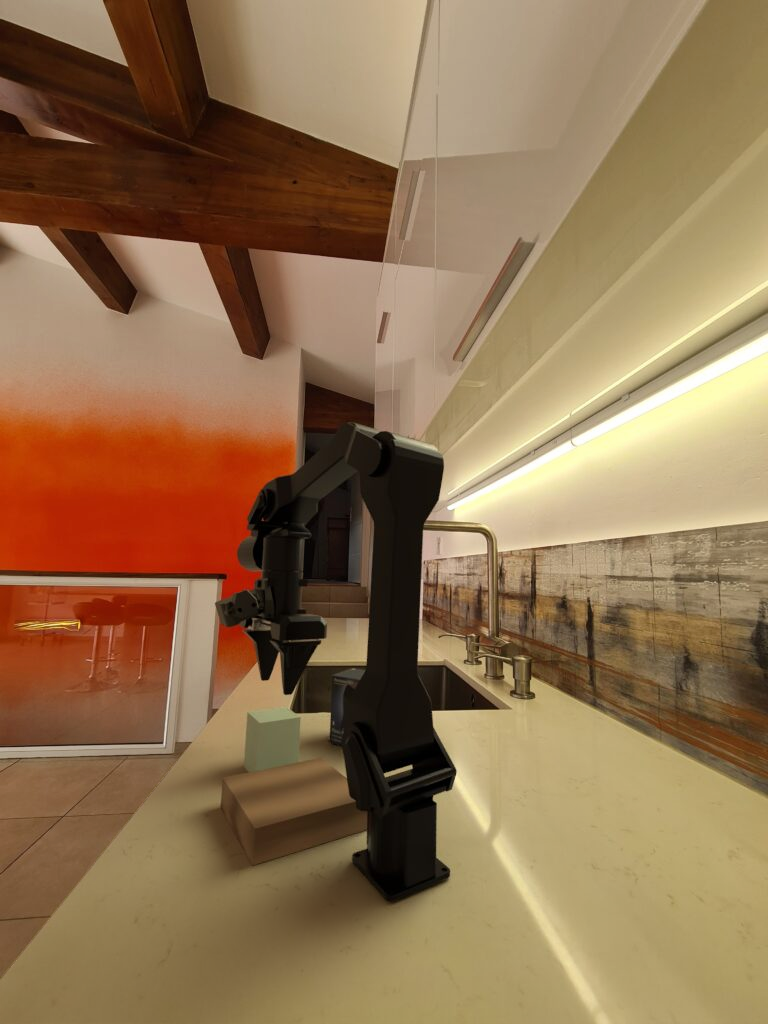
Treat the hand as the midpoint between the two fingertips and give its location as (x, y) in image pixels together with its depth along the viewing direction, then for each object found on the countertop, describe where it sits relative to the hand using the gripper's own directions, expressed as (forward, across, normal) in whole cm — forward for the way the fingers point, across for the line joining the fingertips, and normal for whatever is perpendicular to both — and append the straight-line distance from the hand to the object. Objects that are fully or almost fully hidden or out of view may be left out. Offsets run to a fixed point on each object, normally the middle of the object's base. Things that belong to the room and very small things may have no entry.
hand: (275, 687), depth 62 cm
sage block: (+11, 0, 0) cm, 11 cm away
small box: (+11, -2, +16) cm, 19 cm away
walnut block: (+10, +13, -2) cm, 17 cm away
